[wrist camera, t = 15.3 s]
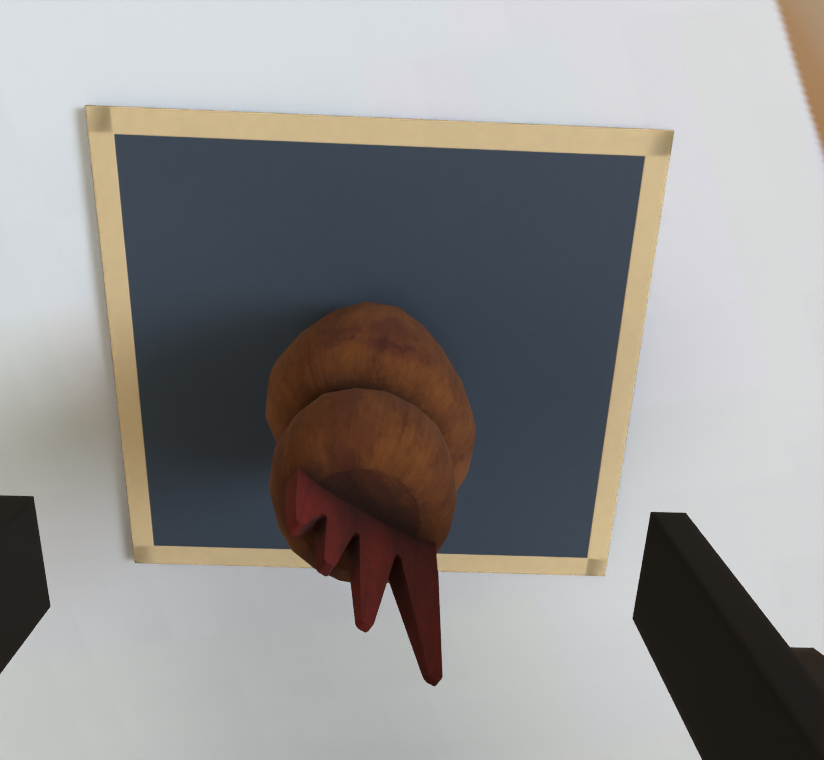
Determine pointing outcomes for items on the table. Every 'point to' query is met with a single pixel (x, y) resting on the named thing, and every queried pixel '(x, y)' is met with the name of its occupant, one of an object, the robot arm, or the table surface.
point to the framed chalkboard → (380, 283)
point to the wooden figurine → (371, 460)
